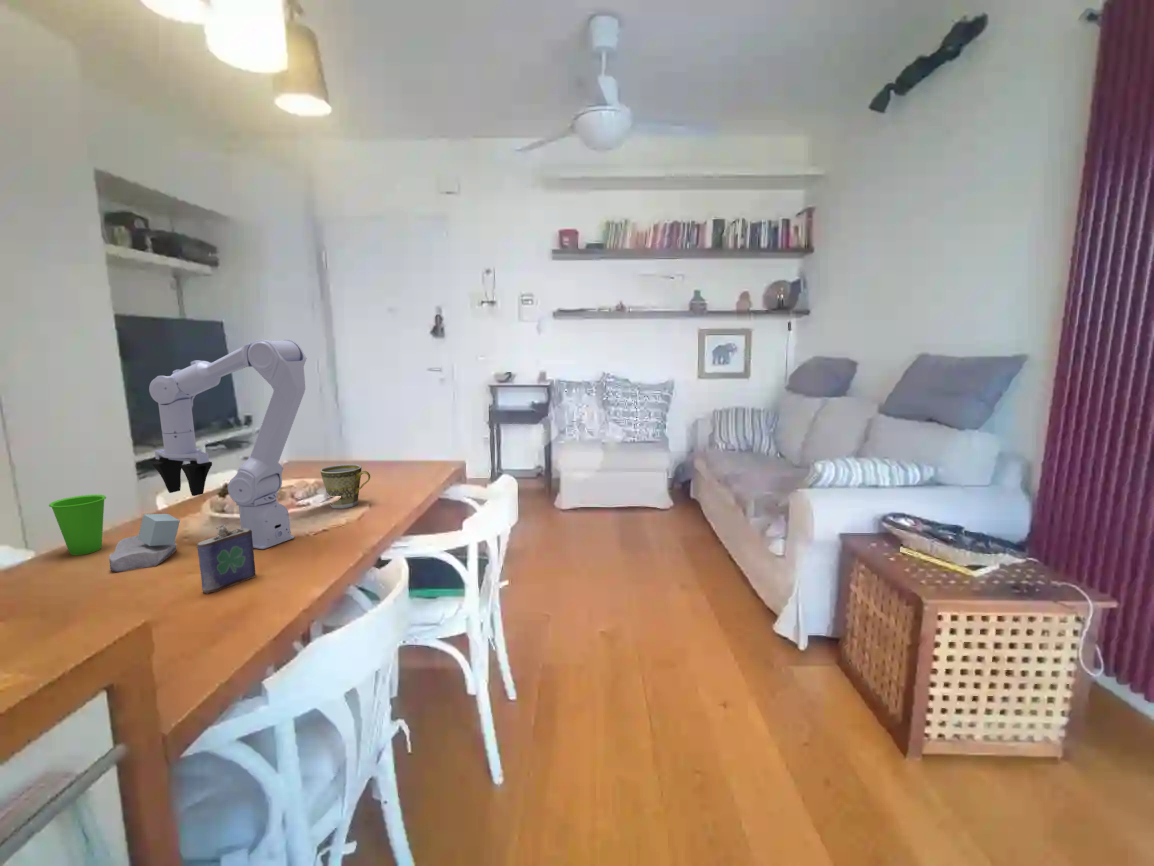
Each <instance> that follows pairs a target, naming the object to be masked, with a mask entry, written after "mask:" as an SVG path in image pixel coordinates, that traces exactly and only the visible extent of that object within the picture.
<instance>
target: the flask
mask: <svg viewBox="0 0 1154 866" xmlns="http://www.w3.org/2000/svg"><path fill="white" fill-rule="evenodd" d="M215 529H216V530H218V532H217V536H214V537H211V538H207V539H205V540H201V541H199V542H198V543H197V544H196V545H197V546H196V547H197V554H198V562H199V570H200V579H201V591H202V592H203V594H208V595H209V594H210V593H217V592H219V591H220V590H224V589H225V588H226V589H227V588H230V587H232V586H234V585H237V584H238V583H242V582H244V581H247V580H249V579H253V578H255V577H256V576H257V574H256V564H255V554H254V548H253V541H252V531H251V530H250V529H245V528H244V529H241V528H239V527H238V528H235V529H232V530H229V529H227V525H225V524H221V525H219V526H218V527H216V528H215Z"/></svg>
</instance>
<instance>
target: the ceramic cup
mask: <svg viewBox="0 0 1154 866" xmlns="http://www.w3.org/2000/svg"><path fill="white" fill-rule="evenodd" d="M363 474H366V475H367V476H368V478H367V480H365V482H363V483H361V477H362V475H363ZM320 475H321V479H322V482H323V485H324V487H325V492H326V494H327V493H328V494H329V495H330V496H341V498H340V499H339V500H338V501H336V502H335V503H334V505H331V504H330V503H329V506H330V507H331V508H332V509H339V510H340V509H341V510H342V509H347V508H349V509H350V508H353V507H355V506H357V505H358V504H359V495H360V490H361V489H362V488H363V487H364V486H365V485H366V484H367V483H368V482H369V481H370V479H371V474H370V473H369V471H366V470H363V471H362V465H359V464H351V463H350V464H349V463H348V464H338V465H331V466H330V465H329V466H325V467H322V468H321V469H320ZM360 485H361V486H360Z"/></svg>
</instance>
